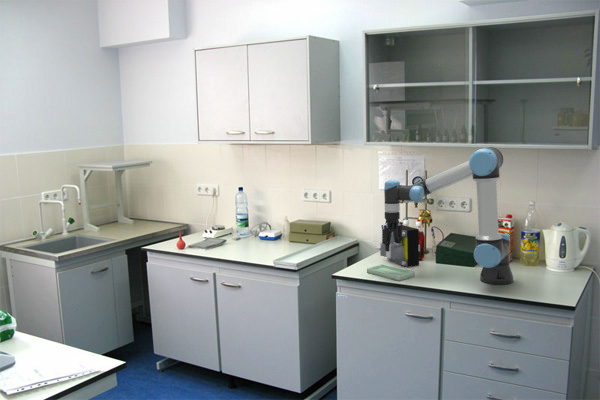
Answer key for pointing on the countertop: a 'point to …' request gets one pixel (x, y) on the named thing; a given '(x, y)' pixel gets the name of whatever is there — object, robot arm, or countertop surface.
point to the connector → (392, 251)
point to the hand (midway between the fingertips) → (392, 256)
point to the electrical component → (408, 246)
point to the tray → (391, 272)
